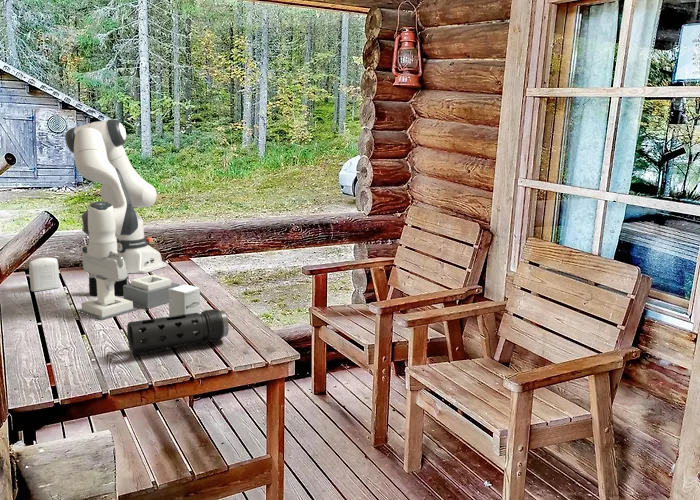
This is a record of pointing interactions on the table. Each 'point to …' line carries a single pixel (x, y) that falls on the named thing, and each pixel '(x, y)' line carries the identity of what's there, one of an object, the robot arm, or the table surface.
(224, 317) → the muzzle brake
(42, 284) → the photo printer
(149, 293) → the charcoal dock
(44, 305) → the table surface
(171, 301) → the supplement box
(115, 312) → the frame
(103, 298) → the plug
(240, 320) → the table surface
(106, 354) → the table surface
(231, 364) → the table surface
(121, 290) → the camera
